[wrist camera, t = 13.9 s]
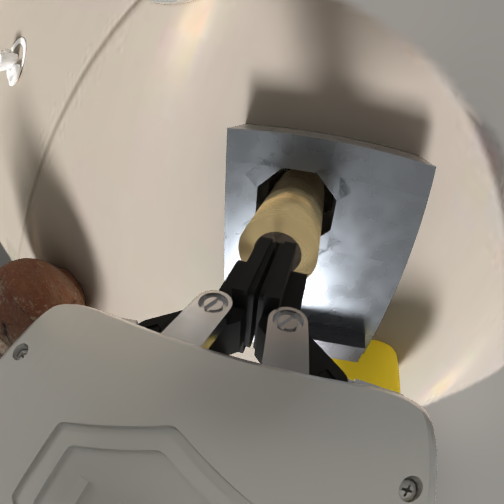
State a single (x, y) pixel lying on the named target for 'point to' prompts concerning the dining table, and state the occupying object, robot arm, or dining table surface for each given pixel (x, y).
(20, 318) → the jug
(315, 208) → the cylinder
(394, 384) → the yellow hollow cylinder
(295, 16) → the dining table surface
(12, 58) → the teacup and saucer
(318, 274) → the jig
